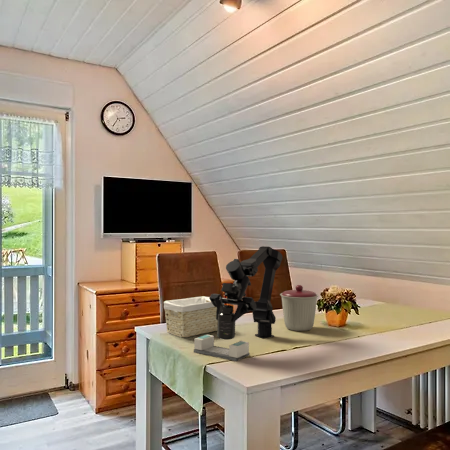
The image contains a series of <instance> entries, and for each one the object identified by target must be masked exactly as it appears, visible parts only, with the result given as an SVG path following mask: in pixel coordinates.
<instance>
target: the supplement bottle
mask: <svg viewBox="0 0 450 450" xmlns="http://www.w3.org/2000/svg"><path fill="white" fill-rule="evenodd" d="M220 311H221V312H220V313H219V314H218V325H217V331H216V333H217V335H216V337H217V338H218V339H221V340H233V339H235V337H236V321H235V322H233V321H232V319H233V316H234V314H235V312H234V306H233V305H231V304H224V305H222V306H221V309H220Z"/></svg>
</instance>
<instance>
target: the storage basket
mask: <svg viewBox="0 0 450 450" xmlns="http://www.w3.org/2000/svg"><path fill="white" fill-rule="evenodd" d="M209 298H210V296H204V295H203V296H201V295H200V296H195V297H187V298H181V299H171V300H165V301H163V309H164V315H165V316H164V317H165V325H166V331H167V333H168V334H170V335H173V336H176V337H179V338H189V337H193V336H199V335H206V334H208V333H214V332H217V325H218V320H217V319H216V312H217V307H215V306H214V305H213V304H212V302H211V301H210V299H209Z"/></svg>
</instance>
